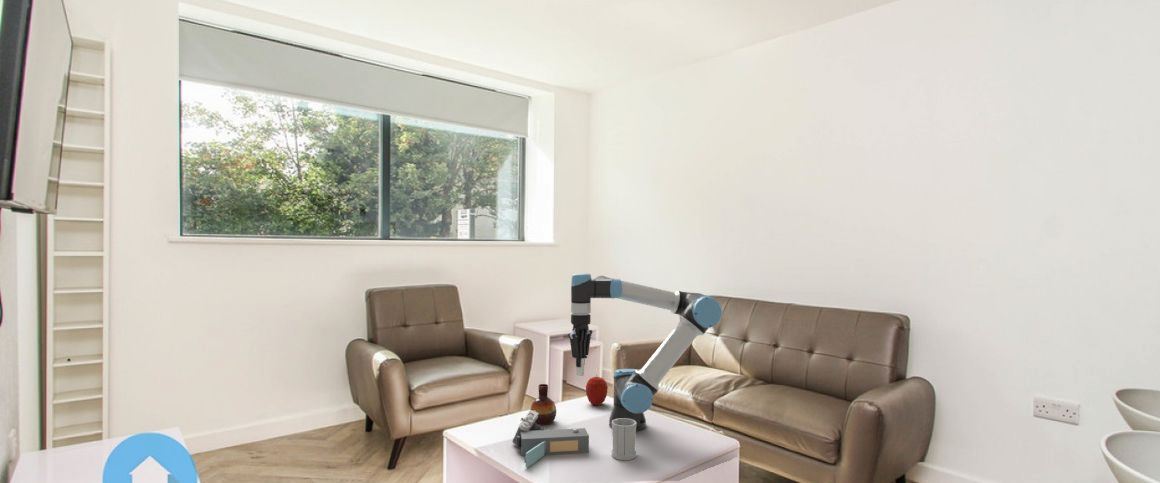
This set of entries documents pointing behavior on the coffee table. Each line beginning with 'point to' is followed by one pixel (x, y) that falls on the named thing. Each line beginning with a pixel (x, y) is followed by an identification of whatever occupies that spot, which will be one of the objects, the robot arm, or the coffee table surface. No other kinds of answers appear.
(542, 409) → the vase
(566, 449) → the long gray box
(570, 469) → the coffee table surface
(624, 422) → the cup
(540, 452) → the side door
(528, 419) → the camera
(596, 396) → the apple
